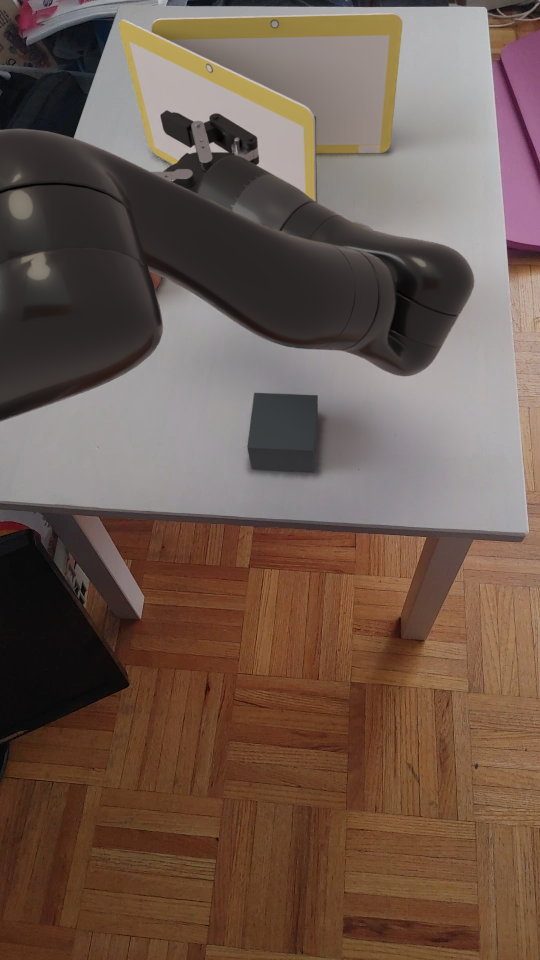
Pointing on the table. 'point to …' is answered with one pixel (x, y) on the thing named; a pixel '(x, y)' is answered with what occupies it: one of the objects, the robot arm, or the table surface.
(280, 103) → the tablet
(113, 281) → the robot arm
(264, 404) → the stand
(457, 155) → the table surface
